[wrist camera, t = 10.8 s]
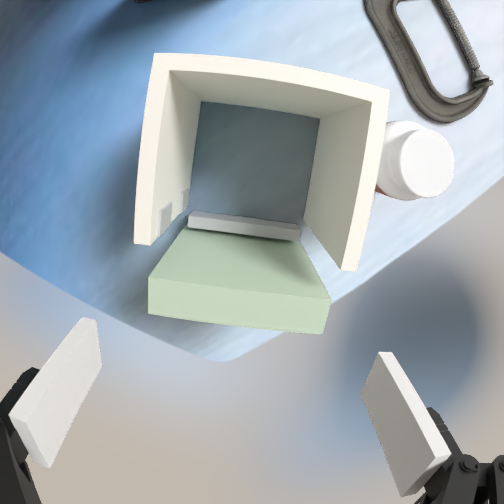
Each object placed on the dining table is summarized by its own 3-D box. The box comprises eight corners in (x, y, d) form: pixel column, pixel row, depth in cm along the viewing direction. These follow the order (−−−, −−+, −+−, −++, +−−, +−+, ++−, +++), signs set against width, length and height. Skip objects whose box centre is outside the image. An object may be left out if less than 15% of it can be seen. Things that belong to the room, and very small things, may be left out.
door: (183, 257, 32) (148, 326, 19) (185, 224, 31) (148, 277, 18) (292, 271, 32) (318, 346, 20) (298, 239, 31) (331, 299, 19)
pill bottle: (387, 195, 30) (448, 221, 20) (332, 176, 29) (377, 194, 19) (404, 137, 28) (471, 140, 18) (349, 115, 28) (402, 103, 17)
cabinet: (173, 260, 32) (134, 329, 19) (192, 90, 27) (154, 52, 14) (301, 277, 33) (332, 352, 20) (331, 110, 27) (390, 90, 15)
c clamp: (338, -35, 22) (345, -47, 20) (452, -34, 21) (463, -41, 18) (409, 131, 29) (422, 131, 26) (510, 108, 27) (523, 107, 24)
